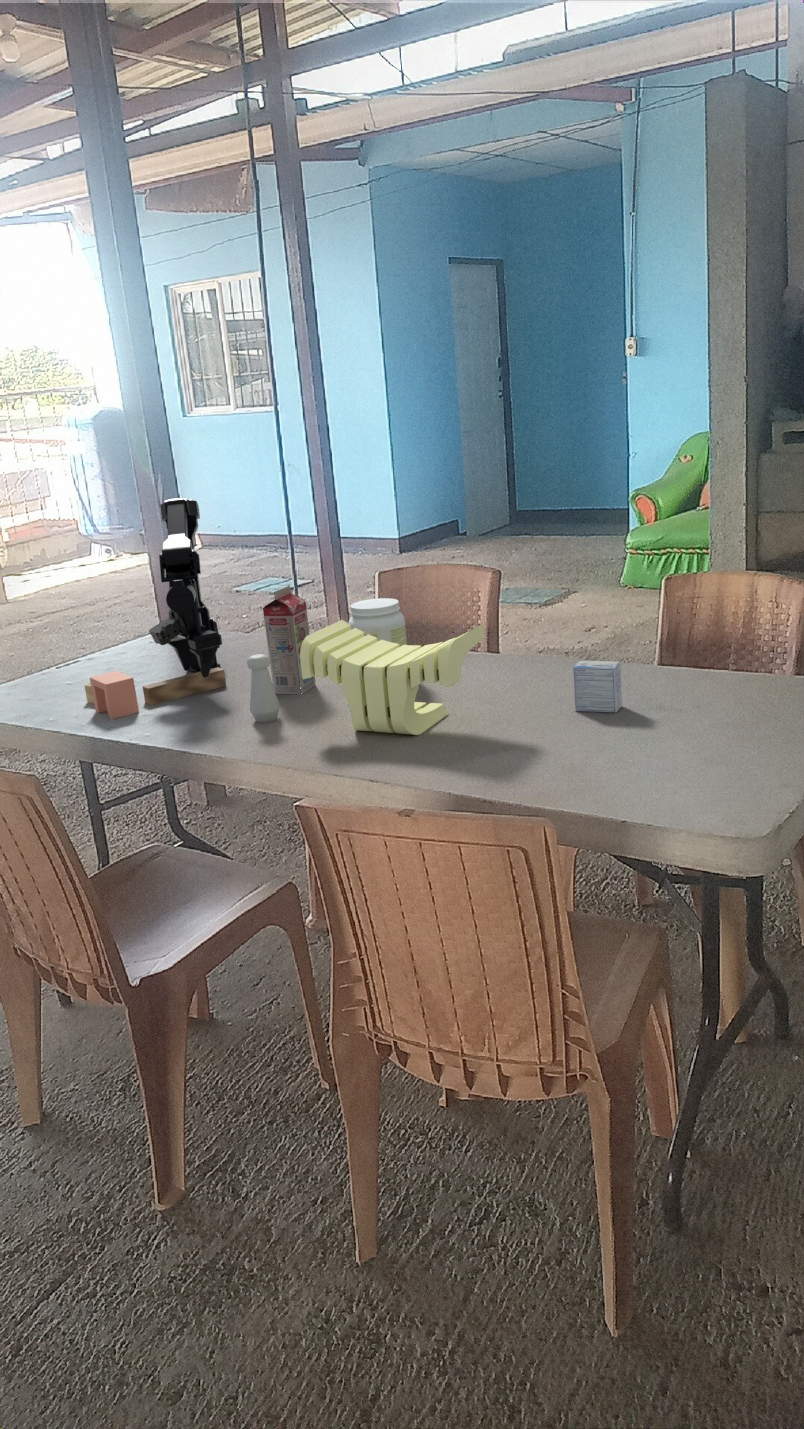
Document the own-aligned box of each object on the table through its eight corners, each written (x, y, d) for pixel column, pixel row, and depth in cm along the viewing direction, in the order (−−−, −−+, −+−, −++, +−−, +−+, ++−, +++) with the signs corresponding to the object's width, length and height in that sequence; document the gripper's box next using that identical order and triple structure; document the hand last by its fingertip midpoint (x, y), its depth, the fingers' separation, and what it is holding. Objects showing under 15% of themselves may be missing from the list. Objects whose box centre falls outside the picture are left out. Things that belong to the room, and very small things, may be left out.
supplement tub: (398, 669, 239) (391, 594, 234) (418, 681, 228) (411, 603, 223) (346, 678, 236) (338, 603, 231) (364, 691, 225) (356, 612, 220)
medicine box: (622, 706, 199) (621, 661, 197) (616, 713, 196) (615, 667, 193) (581, 704, 203) (579, 660, 200) (574, 711, 199) (572, 666, 196)
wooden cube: (101, 697, 240) (98, 680, 239) (113, 699, 238) (110, 681, 236) (87, 702, 237) (84, 685, 236) (99, 704, 235) (96, 686, 233)
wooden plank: (220, 684, 242) (217, 667, 241) (226, 686, 240) (223, 669, 238) (145, 703, 232) (142, 686, 231) (150, 706, 230) (147, 688, 229)
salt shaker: (285, 715, 214) (277, 651, 210) (273, 724, 208) (264, 659, 205) (259, 714, 216) (250, 651, 212) (246, 723, 210) (237, 659, 207)
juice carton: (273, 693, 229) (260, 592, 223) (288, 684, 235) (275, 585, 229) (301, 694, 227) (288, 591, 220) (315, 685, 233) (303, 585, 226)
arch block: (122, 704, 232) (116, 670, 230) (139, 712, 225) (133, 677, 223) (95, 711, 229) (89, 677, 227) (111, 719, 222) (105, 684, 220)
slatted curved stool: (309, 732, 202) (297, 639, 196) (351, 706, 215) (341, 619, 210) (454, 744, 188) (446, 645, 182) (490, 716, 201) (483, 623, 196)
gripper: (133, 606, 235) (144, 675, 239) (169, 616, 220) (181, 689, 225) (179, 596, 241) (190, 664, 246) (218, 606, 226) (228, 677, 231)
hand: (196, 673), depth 237 cm, fingers open, 9 cm apart
